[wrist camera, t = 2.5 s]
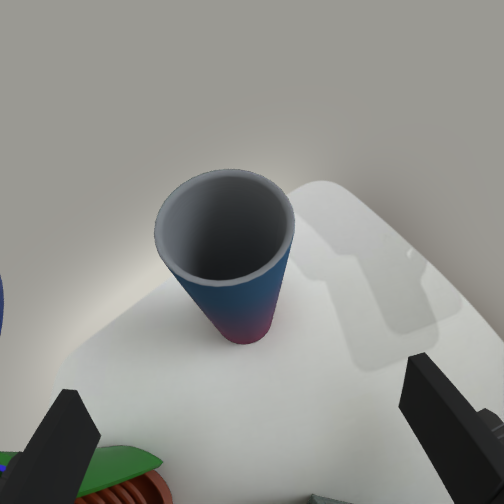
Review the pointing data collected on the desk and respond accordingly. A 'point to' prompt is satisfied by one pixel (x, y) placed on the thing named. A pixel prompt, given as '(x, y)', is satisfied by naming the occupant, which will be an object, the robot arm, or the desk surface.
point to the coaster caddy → (118, 477)
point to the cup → (228, 247)
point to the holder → (323, 500)
